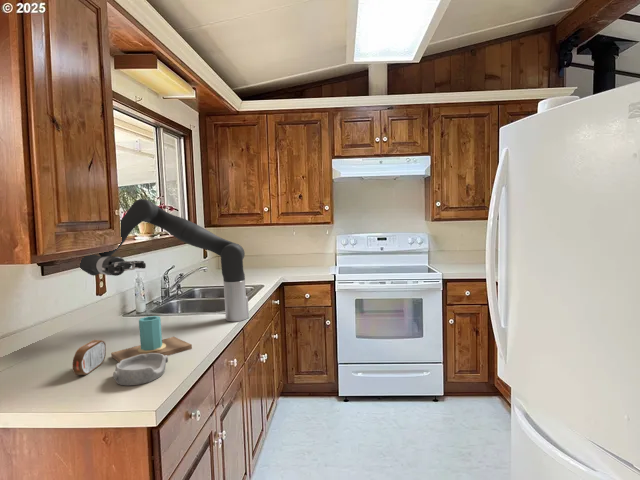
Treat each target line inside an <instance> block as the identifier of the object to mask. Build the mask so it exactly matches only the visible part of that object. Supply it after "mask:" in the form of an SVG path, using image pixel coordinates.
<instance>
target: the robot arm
mask: <svg viewBox="0 0 640 480" xmlns="http://www.w3.org/2000/svg"><path fill="white" fill-rule="evenodd" d="M120 221H121V237H122V242H121V244H120V245H119V247H118V248H117V249H115V250H113V251H109V252H104V253H99V254H98V255H97V254H94V255H90V256H85V257H84V258H82V260H81V263H80V268H81V269H82V270H81V269H80V270H81V271H83V272H84V273H87V274H88V275H91V276H93V277H94V276H95V277H96V276H97V275H104V276H105V275H106V276H114V277H115V276H116V277H117V276H120V275H122V274H124V272H128V271H134V270H136V269H146V267H147V266H146V263H145V261H144V260H125V259H124V258H123V257H121V256H114V255H113V254H115V252H117V251H118V249H120V248H121V246H122V245H123V244H124V243H125V241H126V240H127V238H128V237H129V235H130V233H132V231H133V230H134V229H135V228H136V227H137V226H138V225H140V224H141V223H147V224H150V225H153V226H156V227H158V228H159V229H163V230H164V231H166V232H167V233H168V234H170V235H171V236H173V237H174V238H176V239H178V240H179V241H181V242H184V243H185V244H187V245H190V246H191V247H192V246H193V247H195V248H198V249H202V250H206V251H209V252H212V253H214V254H216V255H217V256H219V257H220V263H221V264H220V265H221V274H222V277H223V278H222V279H223V295H224V297H223V298H224V310H225V321H228V322H240V321H245V320H246V319H248V318H249V319H250V313H249V296H247V294H246V293H247V291H246V277H245V276H246V275H245V272H244V271H245V270H244V261H243V260H244V258H245V249H244V248H243V247H242V246H241V244H238V243H236V242H232V241H229V240H227V239H225V238H222V237H220V236H218V235H216V234H215V233H213V232H212V231H210V230H207V229H206V228H204V227H203V226H201V225H198V224H197V223H194V222H192V221H190V220H188V219H186V218H183V217H180V216H177V215H174V214H172V213H169V212H167V211H166V210H164V209H162V208H161V207H159V206H158V205H156V204H155V203H154V202H152V201H150V200H147V199H144V198H140V199H137V200H135V201H134V202H133V203H132V204H131V206H130V207H129V208H128V210H127V212H125V214H124V215H123V217H121V219H120Z"/></svg>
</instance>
